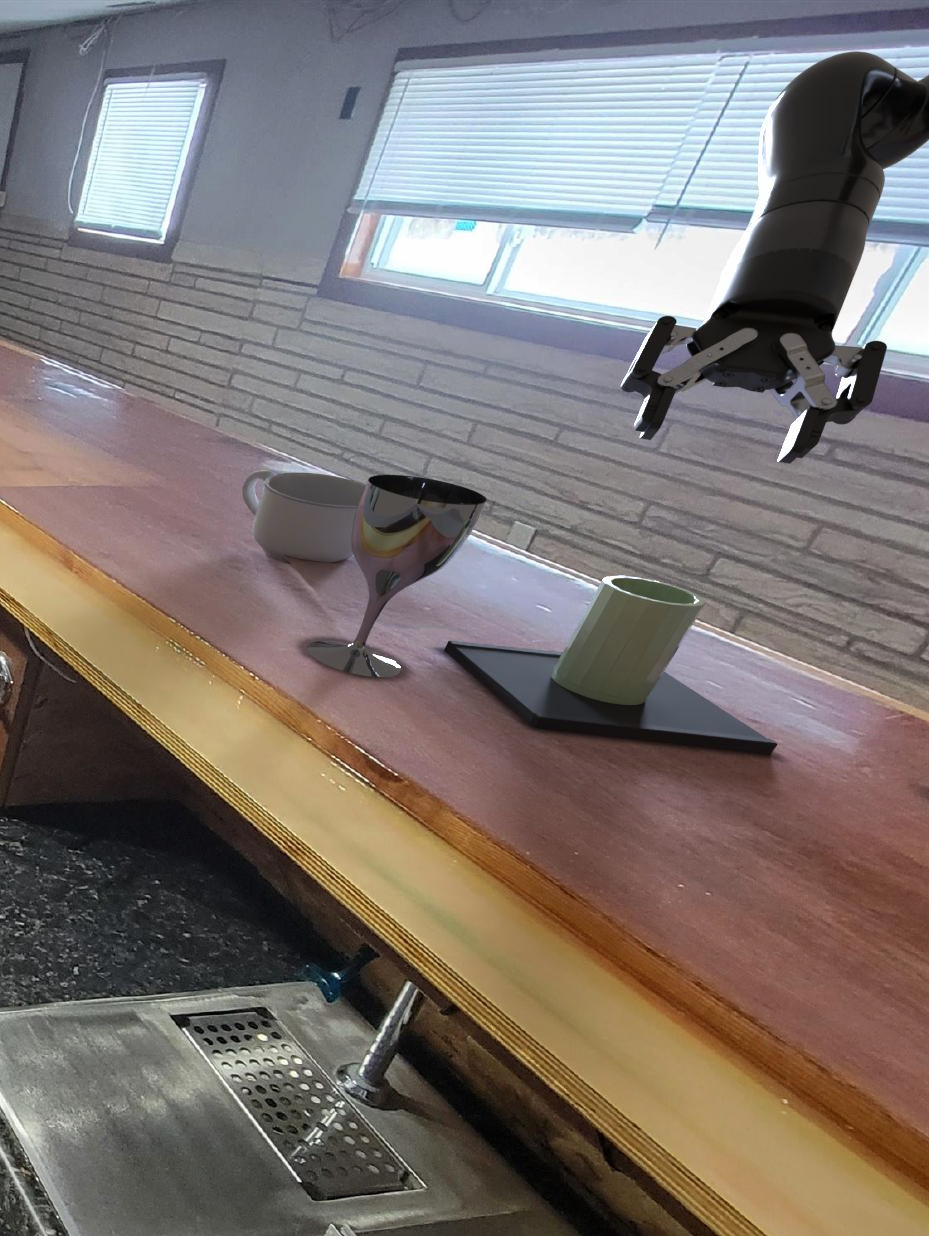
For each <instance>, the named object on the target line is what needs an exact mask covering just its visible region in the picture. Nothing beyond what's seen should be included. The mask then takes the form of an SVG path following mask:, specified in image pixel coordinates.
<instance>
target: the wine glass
mask: <svg viewBox="0 0 929 1236" xmlns="http://www.w3.org/2000/svg"><path fill="white" fill-rule="evenodd" d="M487 500H488V499H487V497H486V496H485V495H484V494H482V493H480V492H478V491H476V490H474V489H471V488H469V487H465V486H461V485H459V484H454V483H450V482H447V481H443V480H437V479H431V478H426V477H419V476H414V475H413V476H412V475H404V474H377V475H372V476H370V477H368V478H367V481H366V483H365V487H364V490H363V492H362V495H361V498H360V501H359V504H358V506H357V509H356V514H355V518H354V523H353V529H352V537H351V548H352V551H353V557H354V558H355V561H356V563H357V564H358V566H359V568H360V570H361V572H362V574H363V576H364V579H365V582H366V585H367V589H368V600H367V605H366V609H365V612H364V615H363V619H362V622H361V625H360V628H359V630H358V631H357V634H356V637H355V639H354V640H353V642H352V643H350V642H343V641H336V640H317V641H313V642H310V643H309V644H308V645H307V646H306V651H307V653H308V654H309V655H310V656H311V657H312V658H314V659H315V660H317V661H318V662H320V663H322V664H324V665H326V666H329V667H331V668H334V669H336V670H339V671H342V672H346V673H349V674H353V675H358V676H362V677H363V676H364V677H371V678H390V677H394V676H398V675H399V674H400V672H401V668H402V667H401V666H400V665H399V664H398V662H396V661H395V660H394V659H393V658H392V657H389V656H387V655H386V654H384V653H381V652H379V651H377V650H374V649H371V648H369V647H366V644H367V641H368V638H369V636H370V633H371V631H372V629H373V627H374V625H375V623H376V621H377V619H378V618H379V616H380V614H381V613H382V612H383V610H384V608H385V607H386V605H387V604H388V603H389V601H391V599H392V598H394V597H395V596H396V595H397V594H398V593H400V592H401V591H403V590H404V589H406V588H408V587H409V586H412V585H414V584H416V583H418V582H420V581H421V580H422V581H423V580H424V579H426V578H428V577H430V576H432V575H434V574H436V573H437V572H439V571H441V570H442V569H444V568H445V567H446V566H447V565H448V564H449V563H450V562H451V561H452V560H453V558H455V556H456V555H457V553H458V552H459V551H460V550H461V548H462V547H463V546H464V544H465V543H466V541H467V540H468V539H469V537H470V535H471V534H472V532H473V531H474V528H475V527H476V525H477V523H478V521H479V519H480V517H481V516H482V512H483V510H484V509H485V506H486V504H487Z"/></svg>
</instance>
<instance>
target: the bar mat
mask: <svg viewBox="0 0 929 1236" xmlns="http://www.w3.org/2000/svg"><path fill="white" fill-rule="evenodd" d="M443 652H444V653H446V654H447V655H448V656H449V657H450V658H451V659H453V661H455V662H456V663H457V664H459V665H460V666H461V667H462V668H463V669H464V670H465V671H467V672H468V674H470V675H471V676H472V677H473V678H475V680H476V681H478V682H480V684H482V685H483V687H485V688H486V689H487V690H488V691H490V692H491V693H492V694H493V695H495V697H497V698H498V699H499V700H500V701H502V703H504V705H506V706H507V707H508V708H510V710H512V711H513V712H514V713H515V714H517V715H518V717H520V718H521V719H522V720H523V721H524V722H525V723H527V724H528V725H529V726H530V727H532V729H535V730H543V731H544V730H545V731H553V732H561V733H572V734H578V735H579V734H581V735H587V736H598V737H606V738H614V739H621V740H622V739H623V740H633V741H641V742H648V743H649V742H650V743H658V744H667V745H668V744H669V745H675V746H676V745H677V746H685V747H694V748H703V749H710V750H720V751H729V752H737V753H738V752H739V753H747V754H756V755H763V756H771V754H773V752H774V751H775V749H776V748H777V746H778V742H776V741H774V740H773V739H771V738H767V737H766V736H765V735H763V734H761V733H760V732H758V731H756V730H755V729H754V728H752V727H751V726H749V725H747V724H746V723H744V722H743V721H741V720H740V719H739V718H736V717H735V716H733V714H730V713H729V712H727V711H726V710H724V709H722V708H721V707H720V706H719V705H717V704H715V703H714V702H712V701H710V700H709V699H708V698H706V697H704V696H703V695H702V694H700V693H698V692H697V691H695V690H694V689H692V688H691V687H689V686H687V685H686V684H684V683H683V682H681V681H680V680H678V679H676V677H674V676H672V675H671V674H669V673H667V672H666V671H664V673H663V674H662V676H661V678H660V679H659V681H658V683H657V684H656V686H655V687H654V689H653V691H652V692H651V694H650V695H649V696H648V698H647V699H646V701H645V702H644V703H642V704H640V705H620V704H613V703H607V702H603V701H599V700H595V699H591V698H588V697H585V696H582V695H580V694H577V693H575V692H572V691H570V690H568V689H566V688H564V687H562V686H561V685H559V684H558V683H556V682H555V681H554V680H553V678H552V673H553V671H554V669H555V666H556V664H557V662H558V660H559V658H560V657H561V655H562V653H563V651H554V650H544V649H536V648H535V649H534V648H526V647H525V648H524V647H514V646H505V645H497V644H488V643H487V644H486V643H475V642H469V641H468V642H467V641H457V640H448V642H446V645H445V646H444V650H443Z"/></svg>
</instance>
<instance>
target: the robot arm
mask: <svg viewBox="0 0 929 1236" xmlns="http://www.w3.org/2000/svg"><path fill="white" fill-rule="evenodd" d="M928 142H929V74H928V75H926V76H924V77H923V78H921V79H920V80H917V79H915V78H914V77H911V76H910V75H909V74H907V73H905V72H904V71H902V70H900V69H899V68H897V67H896V66H894V65H893V64H891V63H890V62H888V61H887V60H885V59H884V58H882V57H880V56H878V55H876V54H874V53H871V52H867V51H859V50H858V51H856V50H855V51H846V52H841V53H837V54H834V55H831V56H828V57H826V58H824V59H821V60H819V61H817V62H816V63H814V64H812V65H811V66H810V67H808V68H806V69H804V70H803V71H802V72H801V73H799V74H798V75H797V76H796V77H794V78H793V79H791V81H790V82H789V83H788V84H787V85H786V86H785V87H784V89H782V90H781V91H780V93H779V94H778V96H777V97H776V98H775V99H774V101H773V102H772V104H771V106H770V107H769V109H768V112H767V114H766V115H765V118H764V120H763V123H762V126H761V129H760V135H759V142H758V143H759V144H758V145H759V146H758V187H759V188H758V189H759V197H758V200H757V202H756V205H755V207H754V209H753V212H752V215H751V216H750V220H749V222H748V224H747V226H746V229H745V231H744V233H743V235H742V237H741V239H740V241H739V242H738V243H737V245H736V247H735V248H734V250H733V251H732V253H731V255H730V258H729V260H728V261H727V265H726V266H725V267H724V268H723V269H722V271H721V275H720V281H719V284H718V286H717V289H716V291H715V294H714V296H713V298H712V301H711V304H710V306H709V307H708V311H707V314H706V316H705V318H704V321H703V322H702V324H700V326H697V328H696V327H691V326H684V325H677V323H678V322H677V318H675V317H674V316H671V315H663V316H661V317H659V318H658V320H657V321H656V322H655V324H654V325H653V326H652V328H651V330H650V331H649V332H648V333H647V335H646V337H645V338H644V340H643V342H642V343H641V346H640V347H639V350H638V351H637V353H636V355H635V358H634V359H633V361H632V363H631V365H630V366H629V369H628V370H627V373H626V375H625V376H624V378H623V380H622V382H621V383H620V389H621V390H622V391H623V392H624V393H638V394H640V395H641V396H642V397H643V403H642V405H641V407H640V410H639V412H638V415H637V418H636V420H635V421H634V424H633V427H634V431H635V432H641V433H640V435H639V439H641V440H647V441H651V440H653V438H654V437H655V435H656V434H657V433H658V432H659V431H660V429H661V427H662V426H663V423H664V421H665V419H666V416H667V414H668V412H669V410H670V406H671V405H672V401H673V399H674V396H675V395H676V394H678V393H680V392H681V393H682V392H686V391H688V390H689V389H691V388H693V387H695V386H697V385H699V384H701V383H704V382H705V381H708V382H711V383H712V384H711V385H712V386H713V387H720V388H740V389H743V390H746V391H750V392H755V393H762V394H763V393H764V392H765V391H769V392H770V393H771V394H772V396H773V398H774V399H775V400H776V402H777V403H778V405H779V406H781V407H787V409H788V410H789V412H790V413H791V414H792V415H793V417H794V419H795V421H794V422H793V423H791V425H790V428H789V430H788V433H787V435H786V437H785V440H784V442H783V445H782V448H781V449H780V450H781V451H780V453H779V456H778V457H777V463H783V464H788V465H789V464H790V465H791V464H792V463H793V462H794V461H795V460H796V459H797V458H798V459H803V458H804V457H805V456H806V455H808V454H809V453H810V452H811V451H812V450H814V448H815V447H816V446H817V445H818V444H819V442H820V440H821V437H822V434H823V432H824V429H825V427H826V425H827V423H834V424H836V425H847V424H850V423H851V422H852V421H853V420H854V419H856V417H857V416H858V415H859V414H860V413H861V412H862V411H863V410H864V409H866V408H867V407H869V406H870V405H871V403H873V400H874V396H875V393H876V389H877V385H878V382H879V379H880V374H881V371H882V369H883V364H884V360H885V357H886V353H887V349H888V345H887V344H886V343H885V342H884V341H881V340H872V341H869V342H867V343H866V344H864V346H862V347H861V346H851V345H850V346H849V345H838V344H836V342H835V340H834V337H833V331H834V329H835V326H836V323H837V321H838V318H839V316H840V313H841V311H842V309H843V307H844V303H845V300H846V298H847V296H848V293H849V290H850V287H851V285H852V283H853V280H854V277H855V276H856V273H857V270H858V268H859V265H860V262H861V260H862V258H863V254H864V251H865V247H866V239H867V234H868V230H869V227H870V225H871V222H872V221H873V218H874V215H875V212H876V210H877V208H878V205H879V202H880V200H881V197H882V194H883V191H884V187H885V182H886V175H885V171H884V170H885V169H888V168H890V167H892V166H894V165H896V164H898V163H900V162H901V161H903V160H904V159H906V158H907V157H909V156H911V155H912V154H913V153H915V152H916V151H918V150H919V149H920V148H921V147H922V146H924V145H925V144H927V143H928ZM680 345H685V347H686V350H687V352H688V353H689V355H690V356H691V357H689V358H688V359H686V361H684V362H683V363H681V364H680V365H677V366H675V367H674V368H672V369H669V370H668V371H666V372H664V373H660V372H658V371H655V370H653V369H654V367H655V365H656V363H657V361H658V359H659V358H660V356H661V355H663V354H665V353H670V352H672V351H673V350H674V349H675V348H676V347H677V346H680ZM824 363H828V364H831V365H832V366H833V368H834V373H835V374H834V376H835V378H837V379H841V381H840V383H839V386H838V387H839V388H838V392H837V393H836V397H835V395H834V394H833V393H832V391H831V390H830V388H829V387H828V386H827V384H826V383H825V382H826V381H825V380H826V374H825V372H824V371H823V370H822V368H821V367H820V366H822V365H823V364H824ZM794 380H795V381H794ZM793 381H794V382H793Z"/></svg>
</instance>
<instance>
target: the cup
mask: <svg viewBox="0 0 929 1236" xmlns="http://www.w3.org/2000/svg"><path fill="white" fill-rule="evenodd" d="M706 604H707V602H706V601H705V599H704V598H703V597H702V596H701V595H699V594H696V593H694V592H693V591H690V590H688V589H685V588H682V587H680V586H677V585H674V584H670V583H666V582H662V581H658V580H654V579H648V578H643V577H637V576H629V575H628V576H626V575H608V576H606V577H604V578H603V579H602V580H601V582H600V583H599V586H598V587H597V589H596V590H595V593H594V594H593V596H592V598H591V600H590V602H589V604H588V605H587V608H586V609H585V611H584V613H583V615H582V616H581V618H580V620H579V622H578V624H577V626H576V627H575V629H574V631H573V633H572V635H571V637H570V638H569V640H568V642H567V644H566V646H565V647H564V649H563V651H562V652H563V653H562V655H561V657H560V658H559V660H558V662H557V664H556V666H555V669H554V671H553V673H552V678H553V680H554V681H555V682H556V683H558V684H559V685H561V686H562V687H564V688H566V689H568V690H570V691H572V692H575V693H577V694H580V695H582V696H585V697H588V698H591V699H595V700H599V701H603V702H607V703H613V704H620V705H640V704H642V703H644V702H645V701H646V699H647V698H648V696H649V695H650V694H651V692H652V691H653V689H654V687H655V686H656V684H657V683H658V681H659V679H660V678H661V676H662V674H663V673H664V672H666V670H667V668H668V666H669V664H670V663H671V661H672V660H673V658H674V656H675V655H676V653H677V652H678V650H679V648H680V646H681V645H682V643H683V642H684V640H685V638H686V637H687V635H688V634H689V632H690V630H691V628H692V627H693V625H694V624H695V622H696V620H697V619H698V617H699V615H700V614H701V612H702V610H703V609H704V607H705V605H706Z"/></svg>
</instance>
